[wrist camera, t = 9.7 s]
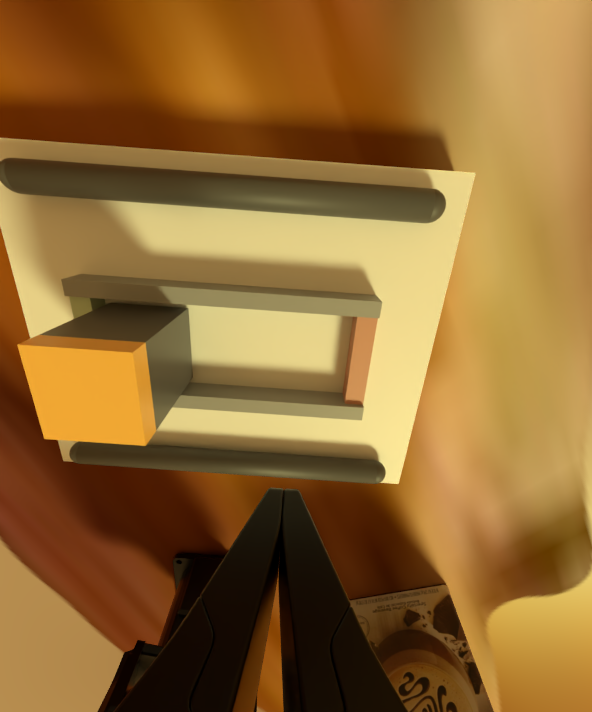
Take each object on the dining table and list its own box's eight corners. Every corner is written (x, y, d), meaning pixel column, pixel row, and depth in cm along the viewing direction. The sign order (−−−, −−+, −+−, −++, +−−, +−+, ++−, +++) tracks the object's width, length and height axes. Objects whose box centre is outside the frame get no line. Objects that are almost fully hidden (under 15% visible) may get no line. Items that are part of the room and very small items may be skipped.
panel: (391, 462, 23) (405, 502, 20) (82, 441, 23) (46, 478, 20) (456, 177, 16) (493, 168, 13) (13, 144, 16) (-59, 127, 13)
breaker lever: (192, 377, 18) (145, 445, 13) (121, 372, 18) (44, 438, 13) (188, 308, 17) (132, 352, 11) (110, 302, 17) (17, 344, 11)
